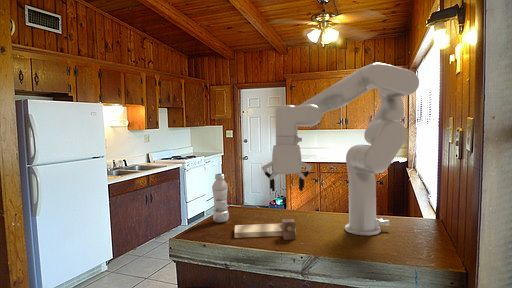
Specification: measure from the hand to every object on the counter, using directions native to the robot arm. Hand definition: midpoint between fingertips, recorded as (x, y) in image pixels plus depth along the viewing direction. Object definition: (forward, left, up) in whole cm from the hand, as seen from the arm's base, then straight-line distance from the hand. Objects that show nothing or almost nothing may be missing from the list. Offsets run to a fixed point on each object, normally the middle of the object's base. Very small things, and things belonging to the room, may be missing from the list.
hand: (286, 190), depth 114 cm
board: (+8, -7, -17) cm, 20 cm away
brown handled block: (0, -5, -17) cm, 17 cm away
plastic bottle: (+25, -23, -17) cm, 38 cm away
